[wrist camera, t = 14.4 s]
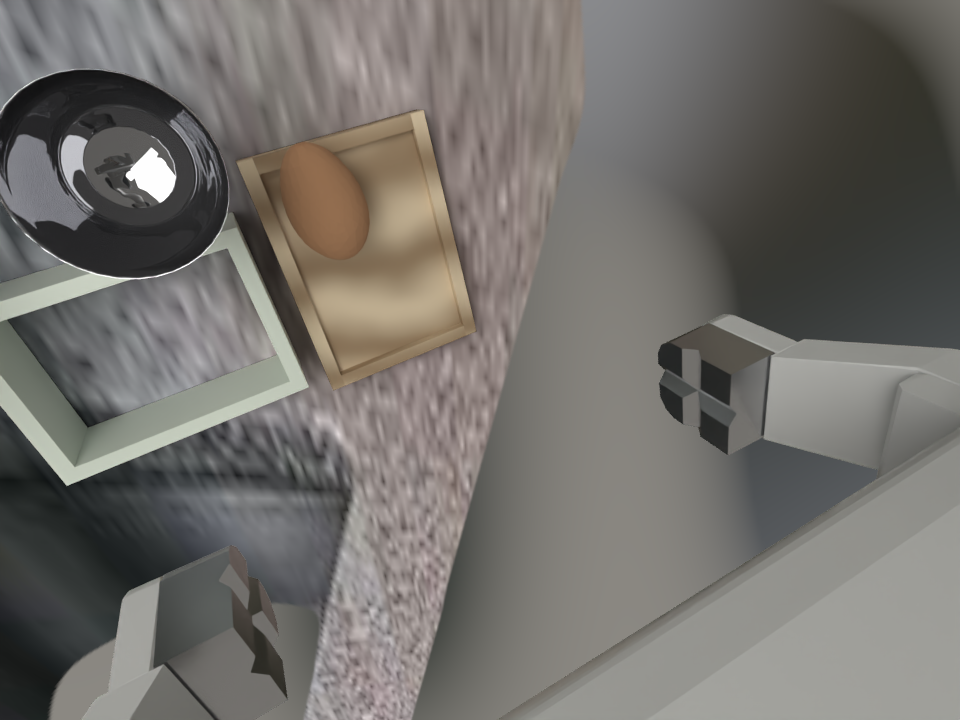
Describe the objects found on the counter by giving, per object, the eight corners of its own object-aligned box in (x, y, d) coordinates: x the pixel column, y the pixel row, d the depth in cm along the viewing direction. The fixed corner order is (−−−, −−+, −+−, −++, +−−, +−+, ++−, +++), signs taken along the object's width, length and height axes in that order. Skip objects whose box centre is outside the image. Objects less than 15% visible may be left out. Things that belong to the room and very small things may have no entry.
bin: (-36, 294, 33) (-69, 323, 29) (232, 212, 37) (236, 227, 33) (80, 444, 39) (66, 485, 35) (298, 359, 43) (308, 387, 39)
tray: (235, 160, 36) (236, 163, 35) (416, 109, 39) (423, 110, 38) (329, 382, 45) (333, 390, 44) (469, 325, 49) (476, 331, 48)
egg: (393, 233, 40) (347, 121, 35) (371, 266, 35) (315, 144, 31) (332, 248, 41) (280, 142, 37) (304, 281, 37) (242, 166, 33)
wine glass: (38, 152, 32) (-64, 192, 19) (121, 43, 31) (72, 14, 19) (171, 238, 36) (156, 315, 24) (245, 145, 36) (269, 173, 24)
